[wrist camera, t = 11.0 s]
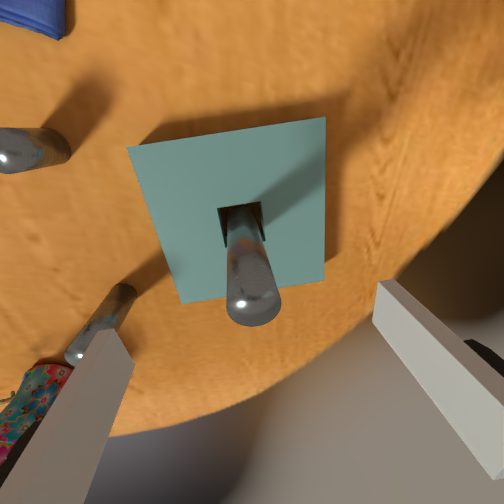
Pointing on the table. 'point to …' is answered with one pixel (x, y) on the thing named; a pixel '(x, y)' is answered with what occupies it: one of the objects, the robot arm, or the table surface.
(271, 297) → the long pin
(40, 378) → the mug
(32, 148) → the short pin
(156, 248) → the table surface
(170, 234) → the hole block
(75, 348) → the medium pin
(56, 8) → the dish towel
